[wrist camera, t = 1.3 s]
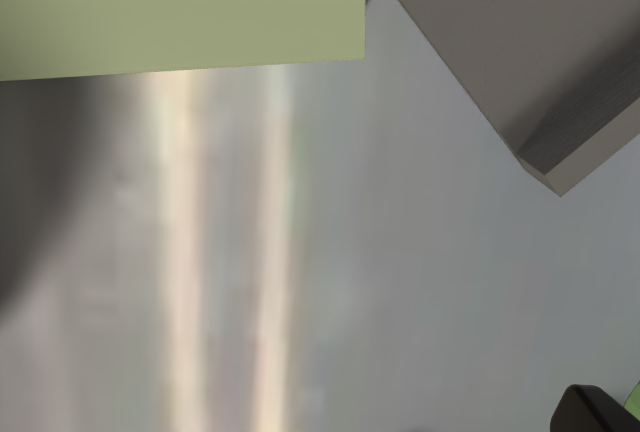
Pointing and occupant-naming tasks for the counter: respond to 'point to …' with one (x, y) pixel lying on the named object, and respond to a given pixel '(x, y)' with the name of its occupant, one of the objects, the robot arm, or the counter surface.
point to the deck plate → (172, 35)
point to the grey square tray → (545, 75)
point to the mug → (634, 402)
